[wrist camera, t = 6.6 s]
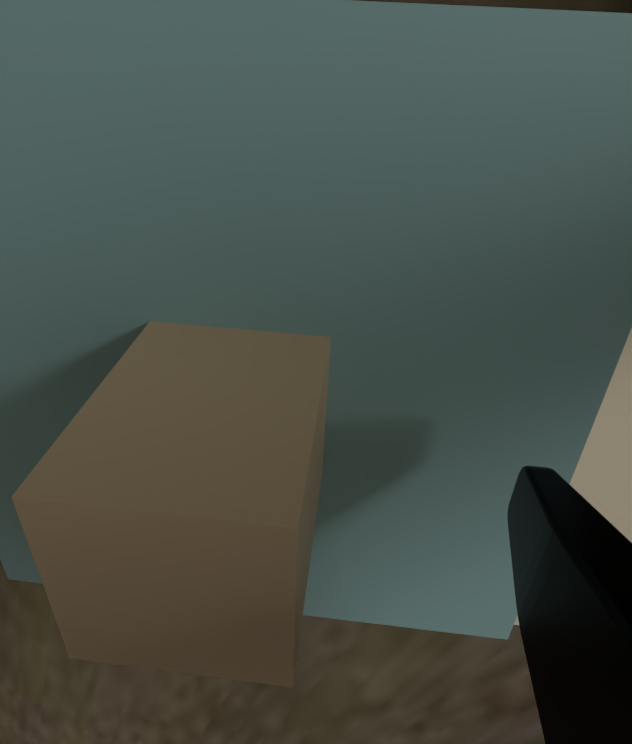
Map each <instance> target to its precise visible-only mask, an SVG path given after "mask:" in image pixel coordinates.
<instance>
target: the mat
mask: <svg viewBox="0 0 632 744" xmlns="http://www.w3.org/2000/svg"><path fill="white" fill-rule="evenodd" d="M570 485H571V486H572V487H573V488H574V489H575V490H576V491H577V492H578V493H579V494H580V495H582V496H583V497H584V498H585V499H586V500H587V501H588V502H589V503H590V504H591V505H592V506H593V507H594V508H595V509H596V510H597V511H599V512H600V513H601V514H602V515H603V516H604V517H605V518H606V519H607V520H608V521H609V522H610V523H611V524H612V525H613V526H614V527H616V528H617V529H618V530H619V531H620V532H621V533H622V534H623V535H624V536H625V537H626V538H627V539H628V540H629V541H630V542H631V543H632V328H631V331H630V333H629V336H628V338H627V341H626V343H625V346H624V348H623V351H622V353H621V356H620V358H619V361H618V363H617V366H616V368H615V371H614V373H613V376H612V378H611V381H610V383H609V386H608V388H607V391H606V393H605V396H604V399H603V401H602V404H601V406H600V409H599V411H598V414H597V416H596V419H595V421H594V424H593V426H592V429H591V431H590V434H589V436H588V439H587V441H586V444H585V446H584V449H583V451H582V454H581V456H580V459H579V461H578V464H577V466H576V469H575V472H574V474H573V477H572V479H571V482H570ZM514 625H519V621H518V615H517V618H516V620H515V623H514Z"/></svg>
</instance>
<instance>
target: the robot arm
mask: <svg viewBox="0 0 632 744" xmlns="http://www.w3.org/2000/svg"><path fill="white" fill-rule="evenodd" d="M507 521H508V531H509V541H510V550H511V560H512V569H513V579H514V589H515V598H516V607H517V615H518V621H519V626H520V631H521V636H522V641H523V645H524V650H525V654H526V659H527V663H528V667H529V672H530V676H531V681H532V685H533V690H534V694H535V699H536V703H537V708H538V712H539V717H540V721H541V726H542V730H543V735H544V739H545V744H632V543H631V542H630V541H629V540H628V539H627V538H626V537H625V536H624V535H623V534H622V533H621V532H620V531H619V530H618V529H617V528H616V527H614V526H613V525H612V524H611V523H610V522H609V521H608V520H607V519H606V518H605V517H604V516H603V515H602V514H601V513H600V512H599V511H597V510H596V509H595V508H594V507H593V506H592V505H591V504H590V503H589V502H588V501H587V500H586V499H585V498H584V497H583V496H582V495H580V494H579V493H578V492H577V491H576V490H575V489H574V488H573V487H572V486H571V485H570V484H569V483H568V482H567V481H566V480H565V479H563V478H562V477H561V476H560V475H559V474H558V473H557V472H556V471H555V470H553V469H551V468H548V467H539V466H529V465H527V466H524V467H522V469H521V470H520V472H519V474H518V477H517V480H516V483H515V486H514V490H513V493H512V496H511V499H510V502H509V505H508V512H507Z"/></svg>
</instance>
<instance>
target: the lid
mask: <svg viewBox="0 0 632 744" xmlns="http://www.w3.org/2000/svg"><path fill="white" fill-rule="evenodd" d="M631 328H632V13H615V12H593V11H571V10H549V9H527V8H505V7H483V6H461V5H440V4H418V3H396V2H374V1H352V0H0V560H1V563H2V565H3V568H4V570H5V573H6V575H7V577H8V579H11V580H19V581H27V582H36V583H43V586H44V589H45V591H46V594H47V597H48V600H49V602H50V605H51V608H52V611H53V614H54V616H55V619H56V622H57V625H58V627H59V630H60V633H61V636H62V638H63V641H64V644H65V647H66V650H67V652H68V655H69V658H70V659H78V660H85V661H93V662H101V663H108V664H116V665H124V666H132V667H139V668H147V669H155V670H162V671H170V672H178V673H185V674H193V675H201V676H208V677H216V678H224V679H231V680H239V681H247V682H255V683H262V684H270V685H278V686H285V687H293V682H294V674H295V667H296V660H297V653H298V645H299V638H300V631H301V624H302V616H303V615H308V616H317V617H325V618H333V619H341V620H350V621H358V622H366V623H374V624H383V625H391V626H399V627H407V628H416V629H424V630H432V631H440V632H449V633H457V634H465V635H473V636H482V637H490V638H498V639H507V640H508V638H509V635H510V633H511V630H512V628H513V625H514V623H515V620H516V618H517V607H516V598H515V589H514V579H513V569H512V560H511V550H510V541H509V531H508V521H507V512H508V505H509V502H510V499H511V496H512V493H513V490H514V486H515V483H516V480H517V477H518V474H519V472H520V470H521V469H522V467H524V466H527V465H529V466H539V467H548V468H551V469H553V470H555V471H556V472H557V473H558V474H559V475H560V476H561V477H562V478H563V479H565V480H566V481H567V482H568V483H569V484H570V482H571V479H572V477H573V474H574V472H575V469H576V466H577V464H578V461H579V459H580V456H581V454H582V451H583V449H584V446H585V444H586V441H587V439H588V436H589V434H590V431H591V429H592V426H593V424H594V421H595V419H596V416H597V414H598V411H599V409H600V406H601V404H602V401H603V399H604V396H605V393H606V391H607V388H608V386H609V383H610V381H611V378H612V376H613V373H614V371H615V368H616V366H617V363H618V361H619V358H620V356H621V353H622V351H623V348H624V346H625V343H626V341H627V338H628V336H629V333H630V331H631Z"/></svg>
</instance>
